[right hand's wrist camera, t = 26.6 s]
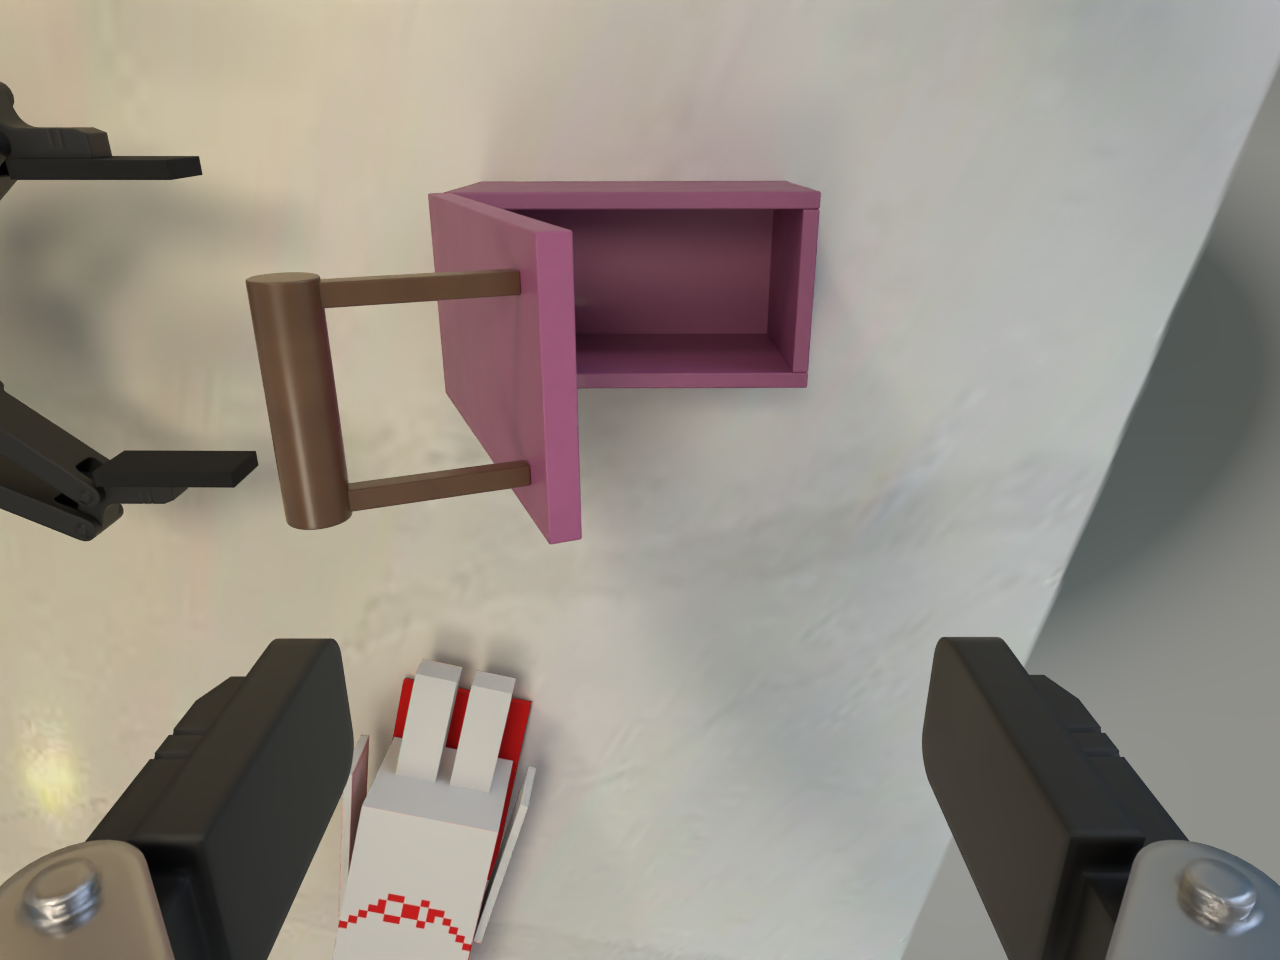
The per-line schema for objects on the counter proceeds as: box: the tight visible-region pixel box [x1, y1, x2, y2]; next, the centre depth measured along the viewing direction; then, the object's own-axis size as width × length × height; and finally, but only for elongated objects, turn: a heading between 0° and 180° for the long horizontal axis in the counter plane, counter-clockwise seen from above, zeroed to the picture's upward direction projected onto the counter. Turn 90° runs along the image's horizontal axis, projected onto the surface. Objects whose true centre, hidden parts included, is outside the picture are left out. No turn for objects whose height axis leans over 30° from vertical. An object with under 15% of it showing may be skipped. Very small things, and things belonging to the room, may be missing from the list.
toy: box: [332, 659, 536, 960], centre depth 61 cm, size 12×13×30 cm
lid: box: [246, 193, 582, 544], centre depth 32 cm, size 18×9×8 cm
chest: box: [444, 181, 821, 388], centre depth 46 cm, size 18×9×10 cm, turn 90°
